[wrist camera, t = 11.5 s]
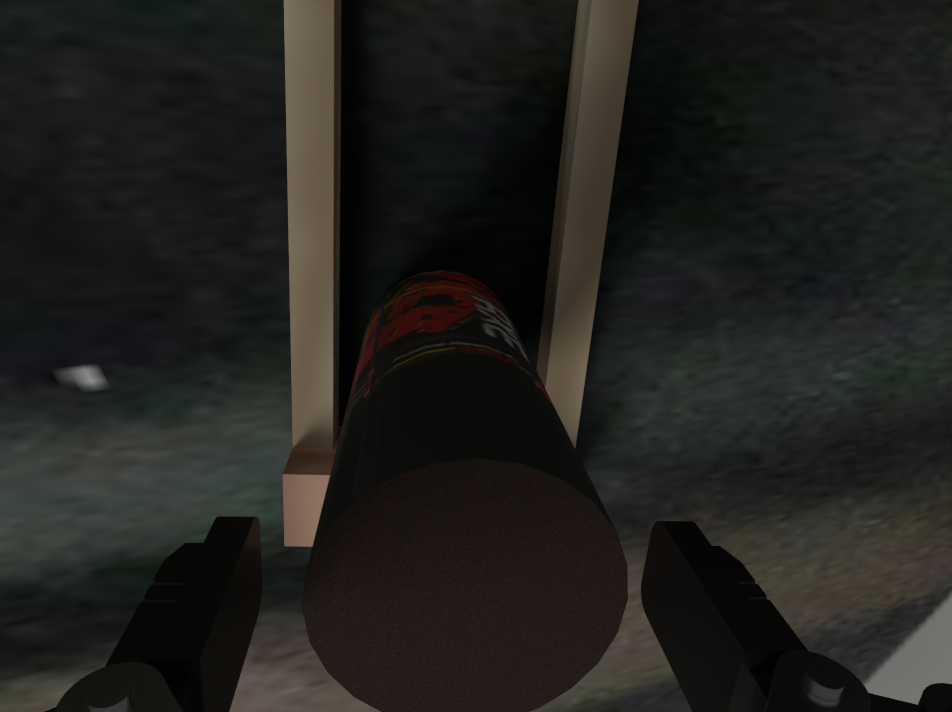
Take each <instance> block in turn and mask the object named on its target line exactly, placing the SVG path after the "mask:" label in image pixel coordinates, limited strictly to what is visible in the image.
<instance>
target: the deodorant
mask: <svg viewBox="0 0 952 712" xmlns="http://www.w3.org/2000/svg"><path fill="white" fill-rule="evenodd" d="M627 600H628V589H627V563H626V560H625V557H624V554H623V551H622V548H621V545H620V542H619V539H618V536H617V533H616V530H615V528H614V526H613V524H612V522H611V520H610V518H609V516H608V514H607V512H606V510H605V508H604V506H603V504H602V502H601V500H600V498H599V496H598V494H597V492H596V490H595V488H594V486H593V484H592V482H591V480H590V478H589V476H588V474H587V472H586V470H585V468H584V466H583V464H582V462H581V460H580V458H579V456H578V454H577V452H576V450H575V448H574V446H573V444H572V442H571V439H570V437H569V435H568V433H567V431H566V429H565V427H564V425H563V423H562V421H561V419H560V417H559V415H558V413H557V411H556V409H555V407H554V405H553V403H552V401H551V399H550V397H549V395H548V393H547V391H546V389H545V387H544V385H543V383H542V381H541V379H540V377H539V375H538V373H537V371H536V369H535V367H534V365H533V363H532V361H531V359H530V357H529V355H528V353H527V351H526V349H525V347H524V345H523V343H522V341H521V338H520V336H519V334H518V332H517V330H516V328H515V326H514V324H513V322H512V320H511V318H510V316H509V314H508V312H507V310H506V308H505V307H504V306H503V304H502V303H501V301H500V300H499V298H498V297H497V296H496V294H495V293H494V292H493V291H491V290H490V289H489V288H488V287H486V286H485V285H484V284H483V283H482V282H480V281H478V280H476V279H474V278H472V277H469V276H467V275H465V274H462V273H457V272H451V271H444V270H439V271H429V272H422V273H419V274H416V275H414V276H411V277H408V278H406V279H403V280H402V281H401V282H399V283H398V284H396V285H395V286H394V287H392V288H391V289H389V290H388V291H387V292H386V293H385V294H384V296H383V297H382V298H381V299H380V301H379V302H378V303H377V304H376V306H375V308H374V310H373V312H372V315H371V317H370V319H369V322H368V324H367V328H366V332H365V336H364V340H363V344H362V348H361V352H360V356H359V360H358V364H357V368H356V373H355V377H354V381H353V385H352V389H351V393H350V397H349V401H348V405H347V409H346V413H345V417H344V421H343V425H342V429H341V433H340V437H339V441H338V445H337V449H336V453H335V457H334V461H333V465H332V469H331V474H330V478H329V482H328V486H327V490H326V494H325V498H324V502H323V506H322V510H321V514H320V518H319V522H318V526H317V530H316V534H315V538H314V542H313V546H312V550H311V554H310V558H309V562H308V566H307V571H306V578H305V587H304V596H303V606H302V609H303V614H304V618H305V623H306V627H307V632H308V636H309V641H310V643H311V645H312V647H313V648H314V650H315V652H316V653H317V655H318V657H319V658H320V660H321V662H322V663H323V665H324V667H325V668H326V670H327V672H328V673H329V674H330V675H331V676H332V677H333V678H334V679H335V680H336V681H337V682H339V683H340V684H341V685H342V686H343V687H344V688H345V689H346V690H347V691H348V692H349V693H350V694H351V695H353V696H354V697H355V698H357V699H359V700H361V701H362V702H364V703H366V704H368V705H370V706H372V707H374V708H376V709H377V710H379V711H381V712H529V711H532V710H535V709H538V708H540V707H541V706H543V705H545V704H546V703H548V702H550V701H551V700H553V699H555V698H556V697H558V696H560V695H561V694H563V693H565V692H566V691H568V690H569V689H571V688H572V687H573V686H574V685H575V684H576V683H577V682H579V681H580V680H581V679H582V678H583V677H584V676H585V675H586V674H587V673H588V672H589V671H590V670H591V669H592V668H593V667H594V666H595V665H597V664H598V662H599V661H600V659H601V658H602V656H603V655H604V653H605V652H606V650H607V648H608V647H609V645H610V644H611V642H612V641H613V639H614V638H615V636H616V634H617V633H618V629H619V626H620V623H621V620H622V616H623V613H624V610H625V607H626V603H627Z"/></svg>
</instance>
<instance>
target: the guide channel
mask: <svg viewBox="0 0 952 712" xmlns="http://www.w3.org/2000/svg"><path fill="white" fill-rule="evenodd" d="M638 1H639V0H578V8H577V16H576V25H575V34H574V43H573V52H572V60H571V69H570V78H569V87H568V95H567V104H566V113H565V122H564V131H563V139H562V148H561V157H560V166H559V175H558V183H557V192H556V201H555V210H554V219H553V227H552V236H551V245H550V254H549V263H548V271H547V280H546V289H545V298H544V307H543V315H542V324H541V333H540V342H539V351H538V359H537V368H536V371H537V373H538V375H539V377H540V379H541V381H542V383H543V385H544V387H545V389H546V391H547V393H548V395H549V397H550V399H551V401H552V403H553V405H554V407H555V409H556V411H557V413H558V415H559V417H560V419H561V421H562V423H563V425H564V427H565V429H566V431H567V433H568V435H569V437H570V439H571V442H572V444H573V446H574V448H576V441H577V434H578V426H579V419H580V412H581V405H582V398H583V391H584V384H585V377H586V370H587V363H588V356H589V348H590V341H591V334H592V327H593V320H594V313H595V306H596V299H597V292H598V285H599V278H600V271H601V263H602V256H603V249H604V242H605V235H606V228H607V221H608V214H609V207H610V200H611V193H612V186H613V178H614V171H615V164H616V157H617V150H618V143H619V136H620V129H621V122H622V115H623V108H624V100H625V93H626V86H627V79H628V72H629V65H630V58H631V51H632V44H633V37H634V30H635V23H636V15H637V8H638ZM284 31H285V80H286V130H287V179H288V228H289V278H290V327H291V376H292V425H293V449H292V451H291V454H290V457H289V459H288V462H287V464H286V467H285V470H284V472H283V503H284V541H285V546H313V542H314V538H315V534H316V530H317V526H318V522H319V518H320V514H321V510H322V506H323V502H324V498H325V494H326V490H327V486H328V482H329V478H330V474H331V469H332V465H333V461H334V457H335V453H336V449H337V445H338V441H339V437H340V433H341V429H342V426H339V307H340V136H341V0H284Z"/></svg>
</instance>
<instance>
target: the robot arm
mask: <svg viewBox="0 0 952 712" xmlns="http://www.w3.org/2000/svg"><path fill="white" fill-rule="evenodd" d="M261 595H262V568H261V545H260V524H259V519H258V517H217V518H216V519H215V521H214V523H213V525H212V527H211V529H210V531H209V533H208V535H207V537H206V539H205V541H204V543H185V544H184V545H182V546H181V547H180V548H179V549H177V550H176V551H175V552H174V553H173V554H171V555H170V556H169V557H168V558H167V559H165V560H164V561H163V563H162V565H161V567H160V569H159V570H158V572H157V574H156V576H155V578H154V579H153V581H152V585H150V587H149V588H148V590H147V592H146V594H145V596H144V597H143V602H142V603H140V605H139V606H138V608H137V610H136V612H135V614H134V615H133V617H132V619H131V621H130V623H129V624H128V626H127V628H126V630H125V632H124V633H123V635H122V637H121V639H120V641H119V642H118V644H117V646H116V648H115V650H114V651H113V653H112V655H111V657H110V659H109V660H108V662H107V664H106V666H105V667H103V668H101V669H98V670H96V671H94V672H92V673H90V674H88V675H87V676H85V677H84V678H82V679H80V680H79V681H78V682H77V683H75V684H74V685H73V686H72V687H71V688H70V689H69V690H68V691H67V692H66V693H65V694H64V696H63V697H62V698H61V699H60V701H59V703H58V705H57V707H55V708H53V709H50V710H48V711H45V712H229V710H230V707H231V704H232V700H233V697H234V694H235V691H236V687H237V684H238V681H239V677H240V674H241V671H242V667H243V664H244V661H245V658H246V654H247V651H248V648H249V644H250V641H251V638H252V634H253V631H254V628H255V624H256V621H257V618H258V614H259V609H260V603H261ZM641 598H642V604H643V608H644V611H645V614H646V616H647V618H648V620H649V622H650V625H651V627H652V629H653V631H654V633H655V635H656V637H657V639H658V641H659V643H660V645H661V647H662V649H663V652H664V654H665V656H666V658H667V660H668V662H669V664H670V666H671V668H672V670H673V672H674V674H675V676H676V679H677V681H678V683H679V685H680V687H681V689H682V691H683V693H684V695H685V697H686V699H687V701H688V703H689V705H690V708H691V710H692V712H952V684H945V683H937V684H932V685H930V686H928V687H926V689H925V690H924V691H923V694H922V696H921V698H920V701H919V703H918V705H916V704H912V703H907V702H903V701H899V700H895V699H891V698H887V697H883V696H878V695H874V694H871V693H868V692H867V690H866V688H865V686H864V685H863V684H862V682H861V681H860V680H859V679H858V678H857V677H856V676H855V675H854V674H853V673H852V672H851V671H850V670H848V669H847V668H846V667H844V666H843V665H841V664H840V663H838V662H836V661H834V660H833V659H830V658H828V657H826V656H824V655H821V654H818V653H814V652H810V651H808V650H807V649H806V647H805V646H804V645H803V643H802V642H801V641H800V639H799V638H798V637H797V635H796V634H795V633H794V631H793V630H792V629H791V627H790V626H789V625H788V624H787V622H786V621H785V620H784V618H783V617H782V616H781V614H780V613H779V612H778V610H777V609H776V608H775V606H774V605H773V604H772V602H771V601H770V600H767V598H766V594H765V593H764V592H763V590H762V589H761V588H760V586H759V585H758V584H755V580H754V578H753V577H752V576H751V575H750V573H749V572H748V571H747V569H746V568H745V567H744V565H743V564H742V563H741V562H740V561H739V560H738V559H736V558H735V557H734V556H732V555H731V554H730V553H728V552H727V551H726V550H724V549H723V548H721V547H720V546H711V544H710V543H709V541H708V540H707V539H706V537H705V536H704V534H703V533H702V532H701V530H700V529H699V527H698V526H697V525H696V524H695V523H694V522H692V521H657V522H656V523H655V524H654V525H653V528H652V531H651V536H650V541H649V546H648V551H647V556H646V561H645V566H644V571H643V577H642V582H641Z"/></svg>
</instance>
